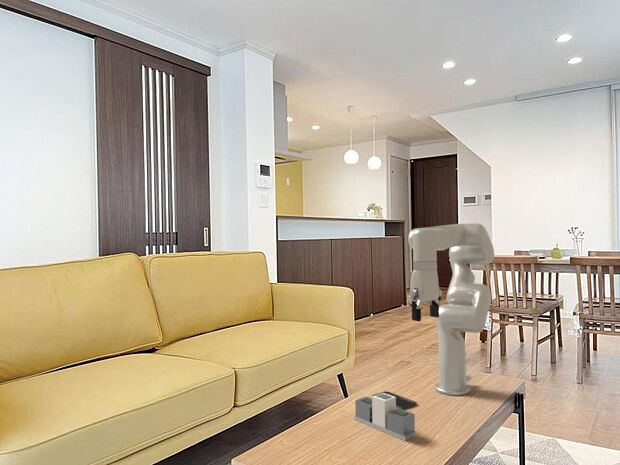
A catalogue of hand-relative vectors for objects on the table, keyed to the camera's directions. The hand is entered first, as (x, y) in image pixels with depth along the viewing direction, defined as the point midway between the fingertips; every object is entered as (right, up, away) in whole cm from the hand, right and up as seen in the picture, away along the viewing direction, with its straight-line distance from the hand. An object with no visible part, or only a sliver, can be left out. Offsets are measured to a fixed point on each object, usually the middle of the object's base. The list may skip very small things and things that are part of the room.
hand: (425, 318), depth 152 cm
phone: (-9, -31, +9) cm, 34 cm away
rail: (-16, -31, -12) cm, 36 cm away
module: (-16, -29, -12) cm, 35 cm away
